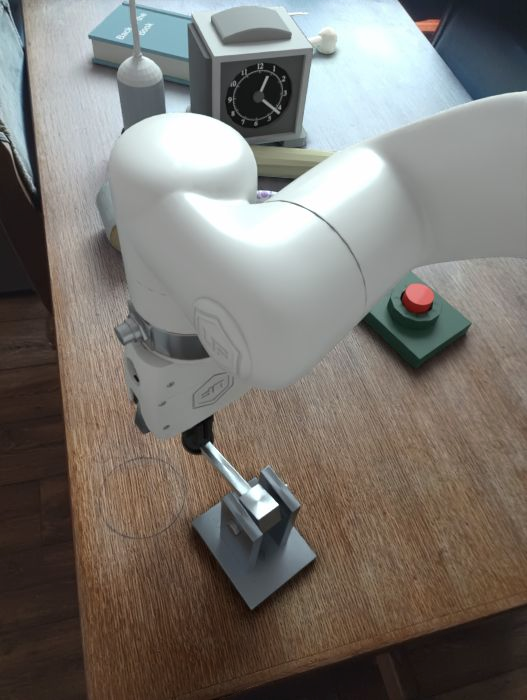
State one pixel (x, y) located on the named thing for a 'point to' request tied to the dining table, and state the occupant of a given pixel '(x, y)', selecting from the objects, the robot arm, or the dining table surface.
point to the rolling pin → (286, 160)
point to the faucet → (322, 38)
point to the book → (145, 40)
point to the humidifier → (139, 83)
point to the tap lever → (238, 485)
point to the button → (417, 298)
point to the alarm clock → (250, 72)
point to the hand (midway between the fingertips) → (195, 429)
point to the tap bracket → (255, 542)
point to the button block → (416, 324)
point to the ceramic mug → (108, 215)
